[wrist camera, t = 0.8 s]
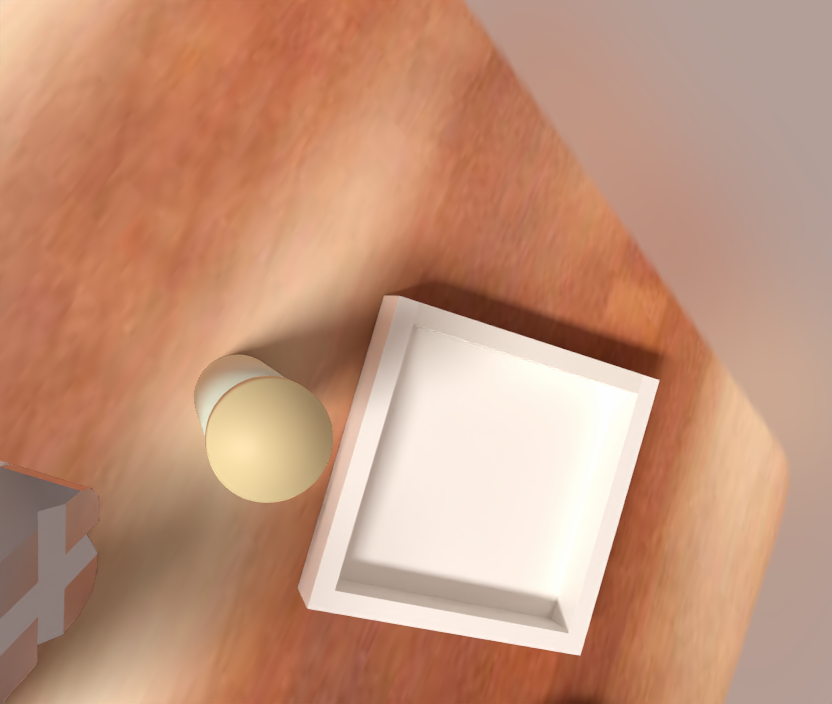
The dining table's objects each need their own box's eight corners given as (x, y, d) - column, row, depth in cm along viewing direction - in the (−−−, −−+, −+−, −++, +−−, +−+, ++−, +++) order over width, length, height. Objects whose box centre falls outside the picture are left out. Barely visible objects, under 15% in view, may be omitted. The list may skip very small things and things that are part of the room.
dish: (383, 295, 44) (399, 295, 41) (630, 375, 50) (659, 380, 47) (297, 587, 44) (307, 608, 41) (555, 634, 50) (580, 655, 47)
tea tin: (206, 341, 41) (227, 364, 29) (292, 365, 43) (347, 396, 30) (180, 428, 41) (190, 488, 29) (267, 448, 43) (313, 514, 30)
